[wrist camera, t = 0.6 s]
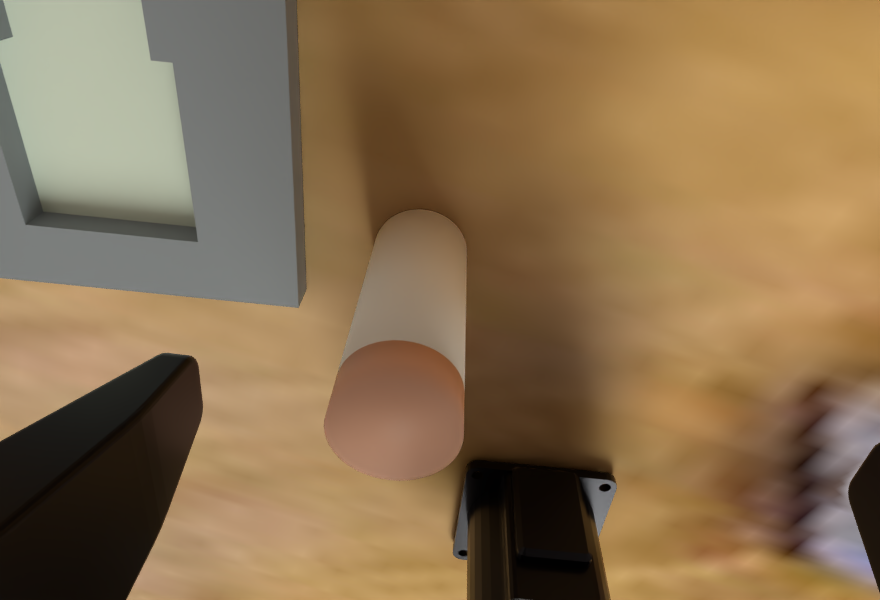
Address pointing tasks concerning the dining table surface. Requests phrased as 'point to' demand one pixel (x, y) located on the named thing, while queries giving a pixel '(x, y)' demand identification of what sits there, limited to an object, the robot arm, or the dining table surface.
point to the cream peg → (405, 354)
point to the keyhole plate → (153, 147)
